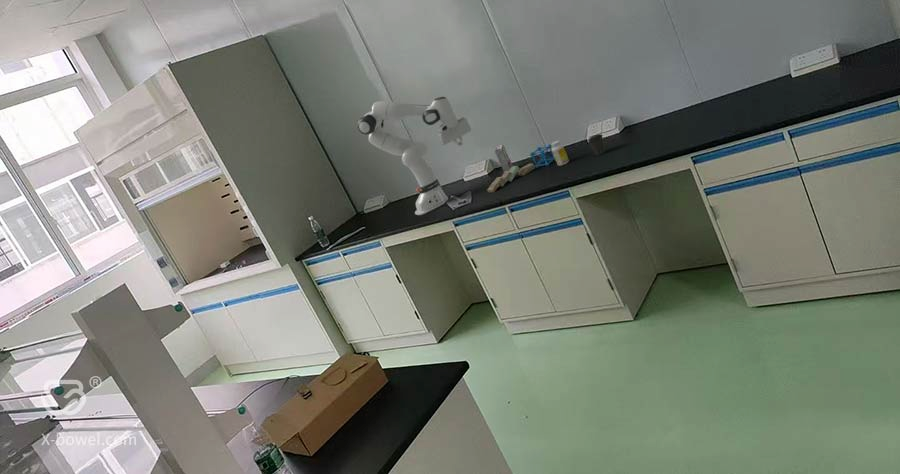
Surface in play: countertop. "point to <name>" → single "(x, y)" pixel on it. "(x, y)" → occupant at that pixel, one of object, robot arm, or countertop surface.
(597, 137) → the coffee cup
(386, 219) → the countertop surface
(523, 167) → the domino
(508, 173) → the domino
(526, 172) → the domino
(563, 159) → the supplement bottle
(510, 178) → the sage domino
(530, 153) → the molecular structure
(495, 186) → the domino
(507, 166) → the candy bar box
